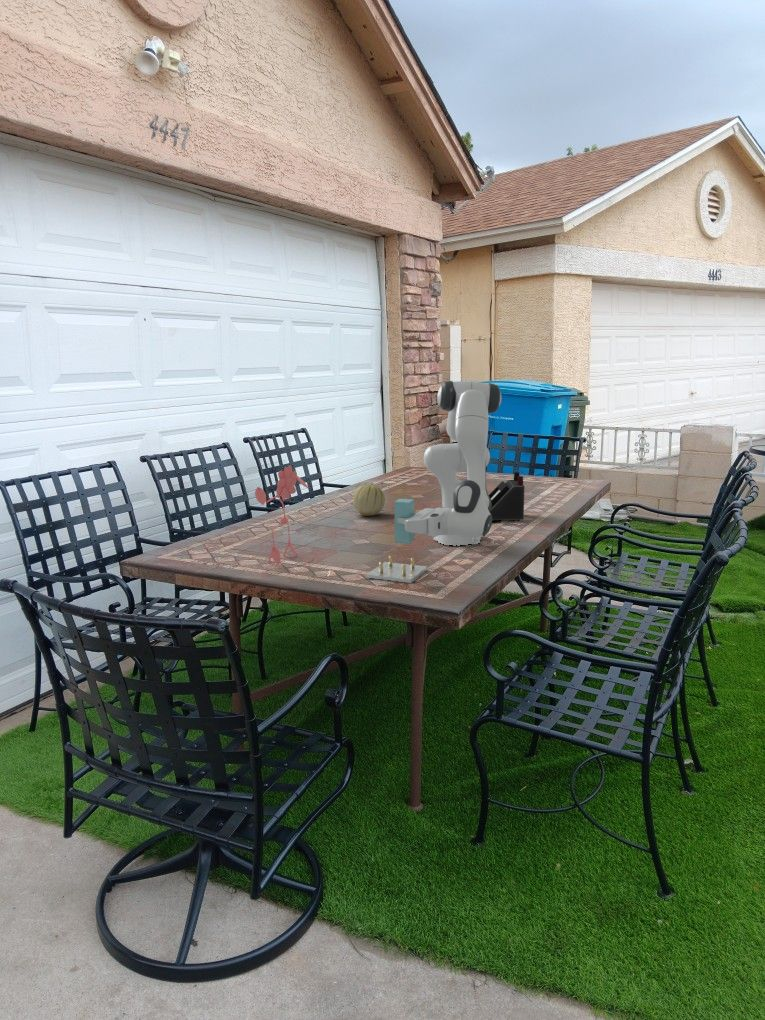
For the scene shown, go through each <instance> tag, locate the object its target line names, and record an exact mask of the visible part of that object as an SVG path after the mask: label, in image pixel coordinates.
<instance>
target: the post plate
mask: <svg viewBox="0 0 765 1020" xmlns="http://www.w3.org/2000/svg"><path fill="white" fill-rule="evenodd" d="M426 570H427V571H428V566H427V565H417V564H415V558H414V557H412V558H411V559H410V564H407V563H398V562H393V555H389V556H388V561H384V562H382V561H380V562H379V565H378V566H376V567H374V569H372V570H371V571H369V572H368V573H366V574H365V578H366V579H370V578H374V579H373V580H378V579H383V580H382V581H387V580H391V581H390V582H396V581H398V583H404V582H405V584H412V583H413V582H415V581H416V580H417V579H418V578H419V577H421V576H422V575H423V574H424V573H426V572H427V571H426Z"/></svg>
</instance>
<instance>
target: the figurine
mask: <svg viewBox="0 0 765 1020" xmlns="http://www.w3.org/2000/svg"><path fill="white" fill-rule="evenodd" d="M277 476H278V479H279V480H278V481H277V483H276V486H277V488H276V492H275V493H276V494H275V496H274V497H271V498H270V499H268V500H267V494H266V492H265V491H264V489H263V488H261V487H260V486H257V487H256V488H255V492H254V496H255V499H256V501H257V502H258V503H259V504H261V505H262V506H264V505H265V504H268V503H269V502H271V501H273V500H274V499H276V498H278V500H279V502H280V504H281V505H282V509H283V510H282V511H283V516H282V517H281V518H280V520H279V522H280V523H279V524H278V525H277V526H275V527H274V528H273V529H271V535H272V543H273V544H272V546H271V547H270V556H269V558H268V560H267V562H268V563H269V562H271V559H273V561H275V563H276V564H277V565H278V566H279V565H280V563H281V556H283V557H284V556H285V555H286V553H287V551H288V550H289V548H290V550H291V551H292V553H294V554H295V555H296V556H299V554H298V552H297V551H296V549H295V547H294V546H293V544H292V542H291V536H290V528H289V526H290V525H289V523H288V522H289V519H288V518H287V517H286V510H285V504H284V502H283V501H286V499H287V500H290V498H291V494H292V495H293V494H295V493H297V488H296V487H295V486H296V483H297V481H298V482H299V483H300V484H301V485H302V486H303V487H305V488H306V489H309V488H310V487H309V486H308V484H307V483H306V482H305V481H304V480H303V479H302V478H301V477H300V476H298V475H297V471H296V470H294V471H293V467H292V465H291V464H289V465H288V466H285V467H284V468H283V470H279V471H278V472H277ZM280 497H281V498H282V499H281V498H280ZM281 525H287V533H288V534H287V536H288V540H287V541H286V542H287V546H286V548H285V549H284V550H285V551H284V553H283V555H281V553H280V550H279V549H278V548H277V546H276V545H275V537H274V530H276V529H277V528H278V527H280V526H281ZM311 556H313V557H314V555H312V554H311ZM313 560H314V559H312V560H311V561H309V562H306V563H303V564H302V566H305V565H306V564H310V563H312V561H313ZM256 565H257V566H260V565H259V564H256ZM300 565H301V564H299V565H298V567H299V566H300Z"/></svg>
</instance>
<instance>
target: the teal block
mask: <svg viewBox="0 0 765 1020" xmlns="http://www.w3.org/2000/svg"><path fill="white" fill-rule="evenodd" d="M393 503H394V543H395V544H405V545H406V544H407V545H410V544H411V543H413V542H414V541H415V533H411V532H407V531H406V530H405V525H404V524H400V523H398V518H400V517H404V518H410V517H412V516H413V515H414V513H415V499H413V498H412V499H409V498H399V499H396V500H394V502H393Z"/></svg>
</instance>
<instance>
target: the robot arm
mask: <svg viewBox="0 0 765 1020" xmlns="http://www.w3.org/2000/svg"><path fill="white" fill-rule="evenodd" d="M436 398H437V403H438V406H439V408H440V409H442V411H446V412H448V414H447V421H446V428H445V429H446V434H447V435H448V436H449V437H450V438H451V439H452V440H453V441H455V443H438V444H434V445H430V446H428V447H427V448H426V449H425V451H424V453H423V464H424V467H426V470H428V471H429V472H431V473H432V474H433V475H434V476H435V478H436V479H437V480H438V483H439V484H440V488H441V489H440V490H441V499H442V503H441V507H436V508H432V507H431V508H430V507H426V508H423V509H422V510H420V511H419V512H414V515H413V516H412V517H410V518H404V517H400V518H398V523H400V524H404V525H405V530H406V531H407V532H411V533H414V534H418V535H419V534H420V535H428V537H432V538H433V540H432V541H436V542H437V541H438V543H439V544H440V543H441V544H440V545H443V544H444V545H445V546H449V545H453V546H452V547H461V546H460V545H466V546H469V545H468V544H472V545H479V544H478V543H481V541H480V540H482V538H481V537H485V536H486V535H488V533H489V532H490V530H491V529H492V528H491V527H492V525H493V524H492V523H493V522H492V515H491V514H490V510H491V506H492V504H491V500H490V497H489V493H488V490H487V469H486V467H488V465H489V463H490V459H491V454H490V450H489V448H488V447H487V444H488V434H489V414H494V413H496V412H497V411H498V410H499V408H500V405H501V403H502V392H501V388H500V387H499V386H498V385H497V384H495V383H492V382H491V383H490V382H489V383H486V382H481V381H475V380H470V381H468V380H466V381H464V380H462V381H460V380H459V381H453V380H447V381H444V382H442V383H441V385H440V387H439V389H438V391H437V397H436ZM456 442H457V443H456ZM460 472H461V473H462V472H464V473H465V472H467V473H466V478H467V480H461V479H459V478H458V477H457V473H460ZM456 545H457V546H456Z"/></svg>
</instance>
